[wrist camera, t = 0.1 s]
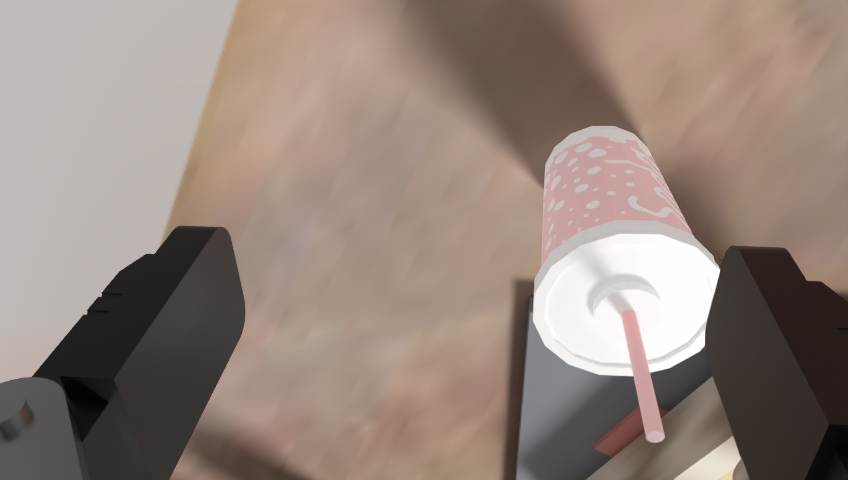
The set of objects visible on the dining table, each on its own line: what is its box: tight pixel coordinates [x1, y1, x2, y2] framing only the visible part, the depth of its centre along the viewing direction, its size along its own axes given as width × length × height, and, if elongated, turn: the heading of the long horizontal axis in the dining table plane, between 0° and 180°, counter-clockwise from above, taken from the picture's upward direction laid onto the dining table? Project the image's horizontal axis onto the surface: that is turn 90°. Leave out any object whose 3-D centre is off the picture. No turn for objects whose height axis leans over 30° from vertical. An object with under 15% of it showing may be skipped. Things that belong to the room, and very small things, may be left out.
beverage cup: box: [533, 126, 720, 443], centre depth 23 cm, size 6×6×14 cm
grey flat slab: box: [515, 296, 735, 480], centre depth 38 cm, size 24×19×2 cm
